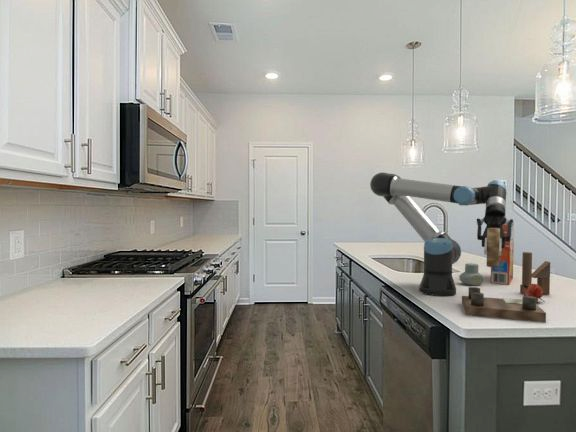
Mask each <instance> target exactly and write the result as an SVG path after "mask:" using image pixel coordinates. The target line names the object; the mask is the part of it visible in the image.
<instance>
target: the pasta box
mask: <svg viewBox="0 0 576 432" xmlns="http://www.w3.org/2000/svg"><path fill="white" fill-rule="evenodd" d="M494 228H495V227H494ZM502 228H503V231H504V235H505V237H506V236H507V229H508V226H507V223H505V224H503V225H502ZM514 234H515V222H514V221H513V226H512V227H511V240H510V241H509V242H508V241H506V242H505V248H502V250H501V256H499V267H490V284H494V285H495V284H496V285H506V286H509V285H511V283H512V280H513V279H514V242H515V240H514V238H515V235H514ZM500 238H501V237H500Z"/></svg>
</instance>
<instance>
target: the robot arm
mask: <svg viewBox="0 0 576 432" xmlns="http://www.w3.org/2000/svg"><path fill="white" fill-rule="evenodd" d="M369 186H370V190H371V191H372V193H374V194H375V196H379V197H383V199H384V200H385V201H386V202H387V203H388V204H389V205H393V206H394V207H395V208H396V209H397V210H398V211H399V213H400V214H401V215H402V216H403V218H404V219H405V220H406V221H407V222H408V223H409V225H410V226H411V227H412V228H413V230H414V231H415V232H416V233H417V234H418V235H419V237H420V238H421V239H422V240H423V242H424V243H423V275H422V278H421V281H420V283H419V287H418V288H419V290H420V291H421V292H423V293H422V294H424V293H427V294H426V295H429V294H433V295H432V296H437V295H441V296H440V297H449V296H455V295H457V287H456V284H455V280H454V278H453V265H454V264H455V263H457V262H458V260H459V259H460V257H461V255H462V248H461V246H460V244H459V243H458V242H457V240H454V239H452V237H450V236H449V234H448V233H447V232H446V231H441V230H440V229H439V228H438V227H437V226H436V224H435V223H434V222H433V221H432V220H431V219H430V217H428V215H427V214H426V213H425V212H424V211H423V210H422V208H421V207H420V206H419V205H418V204H417V203H416V201H415V200H414V199H413V198H418V199H425V200H431V201H439V202H445V203H452V204H458V206H473V205H482V204H483V205H485V212H484V216H483V218H476V225H477V233H476V234H477V235H476V237H477V238H476V239H477V240H478V241H481V247H482V248H483V250H484V251H483V252H484V253H483V254H484V255H485V256H487V228H494V227H495V228H498V229H500V237H501V238H500V241H499V256H501V250H502V248H505V242H506V241H508V242H509V241H510V240H511V227H512V226H513V222H514V219H512V218H510V219H507V217H506V212H507V211H506V207H507V206H506V205H507V186H506V183H505V182H504V181H502V180H499V179H495V180H492V181H490V182H488V183H487V186H479V187H470V186H466V185H455V184H454V185H453V184H446V183H439V182H431V181H421V180H415V179H406V178H402V177H400V176H399V175H398V174H395V173H388V172H378V173H376V174H374V176H372V178H371V180H370V182H369ZM505 223H507V226H508V229H507V236H506V237H505V235H504V231H503V228H502V225H503V224H505ZM483 224H485V225H486V226H485V228H484V231H483V234H482V225H483ZM420 291H419V292H420ZM421 292H420V293H421Z"/></svg>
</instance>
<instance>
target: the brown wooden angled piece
mask: <svg viewBox="0 0 576 432" xmlns="http://www.w3.org/2000/svg"><path fill="white" fill-rule="evenodd" d="M521 264H522V268H521V269H522V270H521V272H522V273H521V284H519V285H520V286H519V287H520V288H519V292H520V293H521V294H523V290H524V289H525V287H523V286H524V285H525V286H527V285H530V284H533V283H532V279H536V282H537V283H536V284H538V285H539V286H541V288H542V289H543V295H542V296H545V295H547V296H549V295H550V292H551V291H550V289H551V288H550V287H551V286H550V283H551V279H550V278H551V261H549V260H548V261H547V260H544V262H543V263H541V265H540V266H538V267H537V268H536V269H535V270H534V271H533V265H532V264H533V253H532V252H529V251H523V252H522V263H521Z"/></svg>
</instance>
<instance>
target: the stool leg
mask: <svg viewBox="0 0 576 432" xmlns="http://www.w3.org/2000/svg"><path fill="white" fill-rule="evenodd" d="M499 241H500V229H498V228H487V255H486V267H489V268H491V267H499Z"/></svg>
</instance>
